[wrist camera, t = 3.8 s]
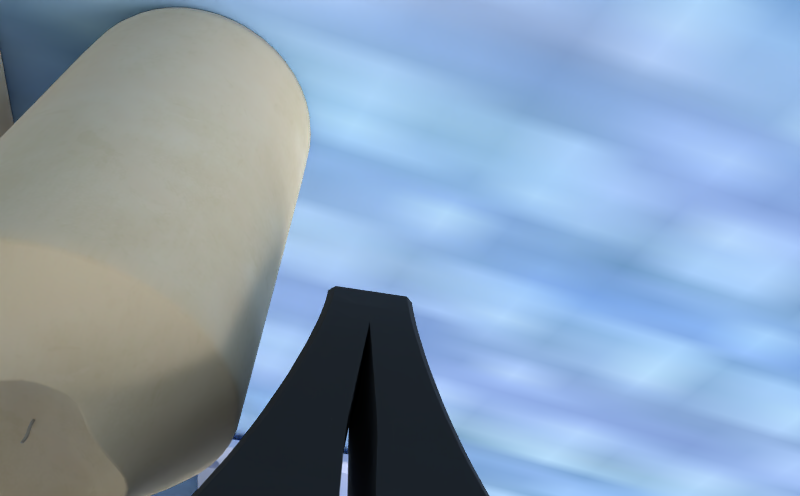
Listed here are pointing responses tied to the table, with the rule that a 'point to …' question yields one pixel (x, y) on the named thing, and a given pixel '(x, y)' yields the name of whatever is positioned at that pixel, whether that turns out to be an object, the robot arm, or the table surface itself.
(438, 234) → the table surface
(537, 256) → the table surface
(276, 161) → the candle
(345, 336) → the robot arm
